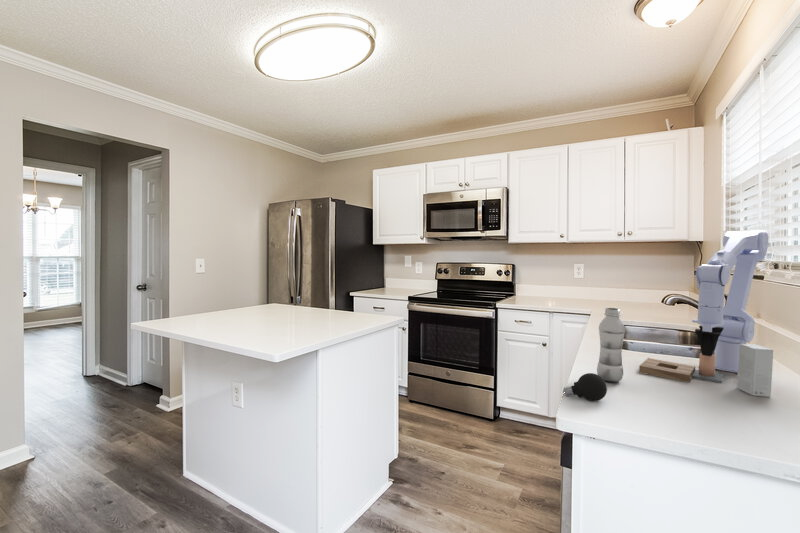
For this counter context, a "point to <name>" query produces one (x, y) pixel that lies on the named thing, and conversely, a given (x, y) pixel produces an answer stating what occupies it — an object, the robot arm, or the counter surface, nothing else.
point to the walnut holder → (667, 369)
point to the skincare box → (755, 370)
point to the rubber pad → (716, 378)
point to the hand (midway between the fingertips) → (708, 353)
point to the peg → (707, 365)
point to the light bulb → (588, 387)
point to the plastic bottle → (611, 346)
